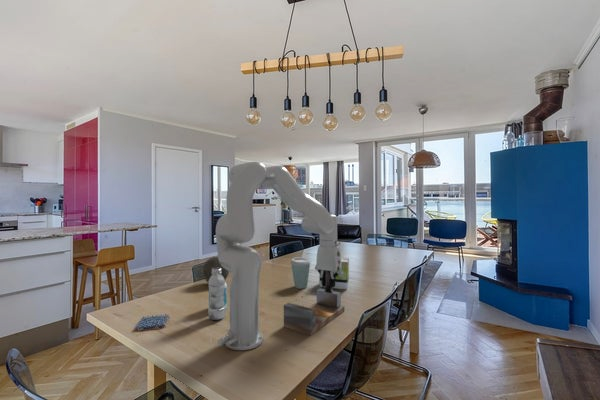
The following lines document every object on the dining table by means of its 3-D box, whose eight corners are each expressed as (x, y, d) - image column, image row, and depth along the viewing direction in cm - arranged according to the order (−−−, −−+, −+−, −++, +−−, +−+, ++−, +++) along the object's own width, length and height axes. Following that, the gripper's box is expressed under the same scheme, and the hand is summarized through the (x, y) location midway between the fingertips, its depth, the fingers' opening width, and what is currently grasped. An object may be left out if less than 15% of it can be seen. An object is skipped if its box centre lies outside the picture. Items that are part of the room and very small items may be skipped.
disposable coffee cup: (314, 285, 155) (313, 258, 155) (304, 291, 145) (304, 262, 145) (297, 282, 160) (297, 256, 160) (286, 288, 151) (286, 259, 151)
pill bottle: (208, 313, 118) (208, 280, 118) (209, 306, 126) (209, 275, 125) (227, 311, 120) (226, 279, 120) (226, 304, 128) (226, 274, 127)
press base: (310, 335, 99) (310, 312, 99) (283, 326, 106) (283, 305, 106) (344, 311, 120) (344, 292, 120) (320, 304, 127) (320, 287, 127)
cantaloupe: (231, 286, 154) (231, 258, 154) (203, 289, 149) (203, 261, 148) (227, 279, 167) (227, 254, 167) (202, 282, 162) (202, 256, 162)
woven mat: (133, 333, 102) (133, 328, 102) (141, 321, 112) (141, 316, 112) (165, 329, 104) (165, 324, 104) (170, 318, 115) (170, 313, 115)
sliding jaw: (337, 308, 117) (337, 270, 117) (316, 303, 123) (316, 267, 123) (340, 305, 119) (340, 268, 119) (320, 301, 125) (320, 265, 125)
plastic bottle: (218, 314, 117) (218, 265, 117) (228, 318, 113) (228, 268, 113) (204, 319, 112) (204, 268, 112) (214, 323, 108) (214, 271, 108)
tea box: (319, 287, 151) (319, 260, 151) (322, 282, 161) (322, 256, 161) (347, 289, 148) (347, 261, 148) (349, 284, 158) (348, 257, 157)
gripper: (349, 244, 119) (349, 287, 119) (316, 240, 129) (316, 281, 129) (341, 246, 113) (341, 292, 113) (307, 242, 123) (307, 285, 123)
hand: (328, 286), depth 121 cm, fingers closed on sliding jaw, 3 cm apart
